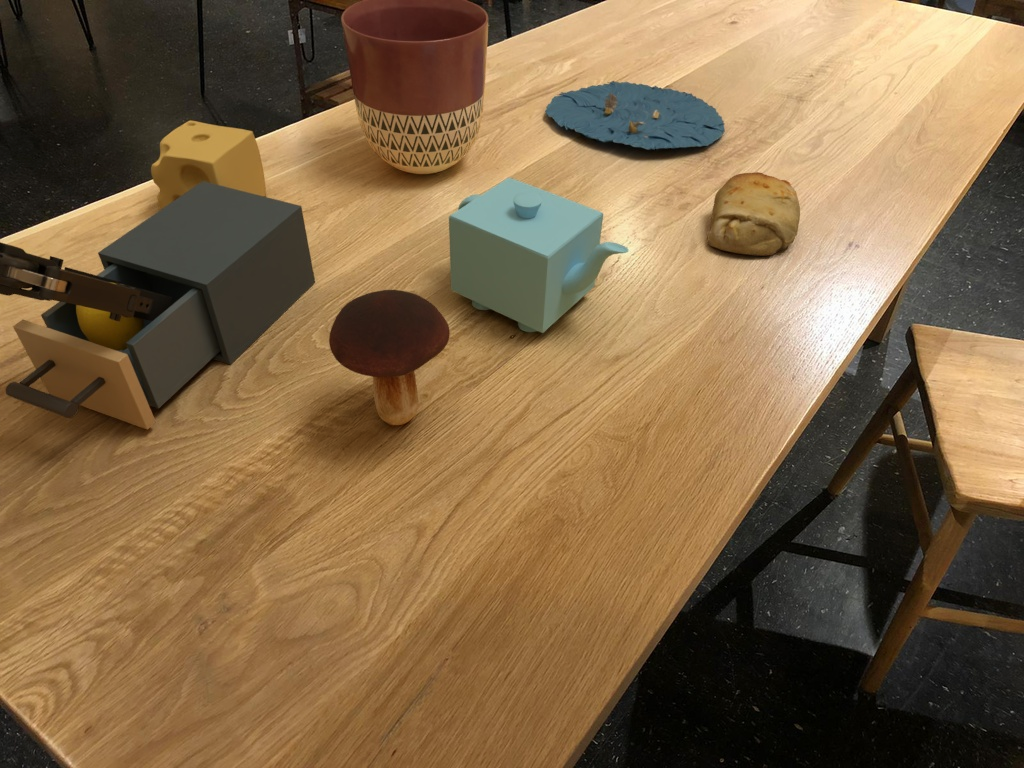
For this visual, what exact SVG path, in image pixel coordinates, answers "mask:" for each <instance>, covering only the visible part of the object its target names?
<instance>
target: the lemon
mask: <svg viewBox="0 0 1024 768" xmlns="http://www.w3.org/2000/svg"><path fill="white" fill-rule="evenodd" d="M110 283H111V282H110ZM114 284H115V283H114ZM76 313H77V318H78V323H79V326H80V328H81V330H82V332H83V333H84V335H85V336H86V337H87V339H88V340H89V341H90V342H92V343H95V344H98V345H101V346H104V347H107V348H110V349H113V350H116V351H119V350H126V349H127V348H128V347H127V344H126V342H128V341H129V340H130V339H131V338H133V337H134V336H135V335H136V334H137V333H139V332H140V331H141V330H142V329H143V326H144V324H143V319H141V318H136V317H128V318H127V317H123V316H121V319H120V322H119V321H116V320H112V319H110V318H109V316H110V313H111V312H106V311H102V310H97V309H93V308H88V307H84V306H79V305H76Z"/></svg>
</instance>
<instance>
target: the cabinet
mask: <svg viewBox="0 0 1024 768" xmlns="http://www.w3.org/2000/svg"><path fill="white" fill-rule="evenodd" d="M97 254H98V258H99V259H100V262H101V264H102V265H101V266H102V267H103V270H105V269H106V268H108V267H109V266H110V265H112V264H113V263H115V264H119V265H122V266H125V267H129V268H132V269H135V270H139V271H142V272H146V273H149V274H152V275H156V276H159V277H162V278H166V279H169V280H173V281H176V282H179V283H183V284H186V285H189V286H193V287H196V288H200V289H202V291H203V294H204V297H205V301H206V304H207V307H208V310H209V314H210V317H211V320H212V323H213V327H214V330H215V333H216V336H217V340H218V343H219V346H220V349H221V351H220V352H219V353H217V354H216V355H215V356H214V357H213V358H212V359H211V360H214V361H217V362H221V363H224V364H226V365H229V366H231V365H232V364H233V363H234V362H235V361H236V360H237V359H238V358H239V357H241V356H242V355H243V353H244V352H245V351H247V349H249V348H250V347H251V346H252V345H253V344H254V343H255V342H256V341H257V340H258V339H259V338H260V337H261V336H262V335H263V334H264V333H266V331H267V330H268V329H269V328H270V327H271V326H272V325H273V324H274V323H275V322H277V320H279V318H281V317H282V316H283V314H285V313H286V312H287V311H288V309H290V308H291V307H293V305H294V304H295V303H296V302H297V301H298V300H299V299H300V298H301V297H302V296H304V294H305V293H306V292H307V291H308V290H309V289H311V287H312V286H313V285H314V284H316V279H315V274H314V268H313V263H312V258H311V252H310V246H309V241H308V236H307V231H306V224H305V219H304V213H303V207H302V205H300V204H295V203H292V202H288V201H283V200H279V199H275V198H272V197H267V196H265V197H264V196H260V195H256V194H252V193H248V192H244V191H240V190H236V189H232V188H228V187H224V186H220V185H216V184H212V183H208V182H204V181H202V182H201V183H199V184H198V185H196V186H195V187H193V188H192V189H190V190H189V191H188V192H186V193H185V194H183V195H182V196H180V197H179V198H177V199H176V200H174V201H173V202H171V203H170V204H169V205H167V206H166V207H164V208H163V209H161V210H160V209H159V210H158V211H157V212H155V213H154V214H153V215H151V216H150V217H148V218H147V219H145V220H144V221H142V222H141V223H139V224H138V225H136V226H135V227H134V228H132V229H130V230H129V231H128V232H126V233H124V234H123V235H121V236H120V237H119V238H117V239H116V240H114V241H113V242H111V243H110V244H108V245H107V246H105V247H104V248H103V249H101V250H99V251H98V252H97Z"/></svg>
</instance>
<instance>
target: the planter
mask: <svg viewBox="0 0 1024 768" xmlns="http://www.w3.org/2000/svg"><path fill="white" fill-rule="evenodd" d="M340 20H341V26H342V35H343V40H344V46H345V52H346V58H347V62H348V70H349V75H350V76H349V77H350V81H351V88H352V92H353V98H354V103H355V109H356V114H357V118H358V121H359V125H360V127H361V129H362V133H363V135H364V137H365V139H366V141H367V143H368V144H369V146H370V147H371V149H372V150H373V151H374V152H375V153H376V155H378V157H380V158H381V160H383V161H384V162H385V163H387V164H389V165H390V166H392V167H394V168H395V169H397V170H400V171H402V172H405V173H408V174H415V175H431V174H436V173H439V172H443V171H446V170H447V169H449V168H452V167H454V165H456V164H457V163H459V162H460V161H461V160H462V159H463V158H464V157H465V156H466V155H467V154H468V153H469V151H470V150H471V149H472V147H473V145H474V144H475V142H476V140H477V137H478V134H479V131H480V128H481V124H482V120H483V115H484V114H483V113H484V104H485V103H484V102H485V90H486V75H487V74H486V73H487V71H486V70H487V55H488V54H487V53H488V41H489V15H488V13H487V11H486V10H485V9H484V8H483V7H481V5H478V4H476V3H474V2H472V1H469V0H360V1H358V2H356V3H353V4H352V5H350V6H348V7H347V8H346V9H345V10H344V11H343V12H342V14H341V16H340Z"/></svg>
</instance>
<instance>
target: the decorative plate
mask: <svg viewBox="0 0 1024 768" xmlns="http://www.w3.org/2000/svg"><path fill="white" fill-rule="evenodd" d="M544 111H545V116H548V117H549V118H552V120H554V122H555V123H556V124H557V125H558V126H560V127H561V128H562V127H564V128H565V130H566V131H567V130H568V129H570V130H574V132H577V133H579V134H581V135H582V136H585V138H588V139H590V140H593V139H595V140H596V141H597V142H602V143H608V142H609V143H610V142H613V143H614V144H615V143H617V144H624V145H629V146H631V147H633V148H642V149H645V150H648V151H649V150H655V149H656V150H659V149H670V148H671V149H678V148H682V149H685V148H691V147H692V148H695V147H699V148H700V147H704V146H705V147H709V145H712V144H713V143H714V142H715V141H717V140H718V139H720V138H722V136H723V135H724V133H725V131H726V130H725V129H726V128H725V121H724V120H723V116H721V115H719V112H717V108H715V107H713V106H712V105H710V104H708V102H705V101H704V99H702V98H699V97H697V96H696V95H695V96H694V94H692V93H689V92H685V91H679V90H678V89H676V90H675V89H672V88H662V87H658V86H657V85H654V86H650V85H648V84H643V83H639V84H637V83H635V82H630V81H629V82H628V81H624V82H623V81H622V82H619V81H614V80H612V81H610V82H609V81H607V83H603V84H597V85H590V86H588V87H580V88H579V89H577V90H569V91H566V92H563V91H562V92H560V93H558V95H555V96H554V97H552V98H551V101H550V103H548V104H547V106H546V109H545V110H544Z"/></svg>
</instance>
